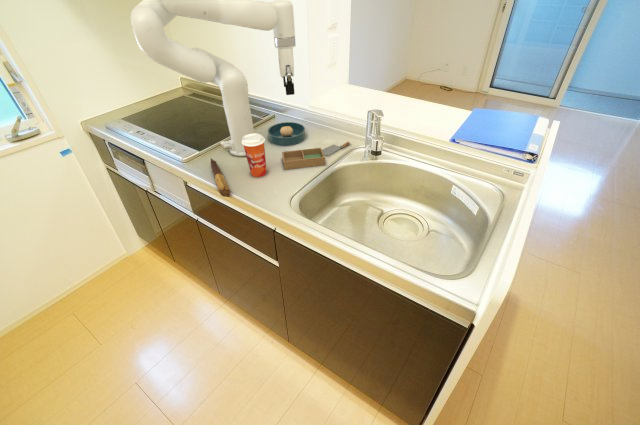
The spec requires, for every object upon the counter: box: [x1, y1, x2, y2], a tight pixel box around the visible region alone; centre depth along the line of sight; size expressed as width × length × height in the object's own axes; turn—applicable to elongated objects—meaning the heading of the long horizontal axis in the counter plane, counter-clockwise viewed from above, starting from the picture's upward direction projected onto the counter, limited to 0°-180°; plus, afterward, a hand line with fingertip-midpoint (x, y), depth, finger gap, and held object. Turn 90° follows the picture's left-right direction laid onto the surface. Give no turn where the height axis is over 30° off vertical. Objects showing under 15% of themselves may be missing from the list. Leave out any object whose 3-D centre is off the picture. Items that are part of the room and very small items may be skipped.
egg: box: [280, 126, 293, 137], centre depth 135 cm, size 6×4×4 cm
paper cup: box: [242, 132, 267, 178], centre depth 110 cm, size 8×8×14 cm
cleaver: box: [322, 141, 350, 157], centre depth 128 cm, size 13×1×5 cm
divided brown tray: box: [281, 147, 326, 171], centre depth 119 cm, size 15×8×3 cm, turn 100°
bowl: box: [267, 121, 307, 147], centre depth 136 cm, size 16×16×4 cm
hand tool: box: [210, 158, 231, 198], centre depth 111 cm, size 4×26×3 cm, turn 25°
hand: (289, 90), depth 124 cm, fingers open, 9 cm apart
